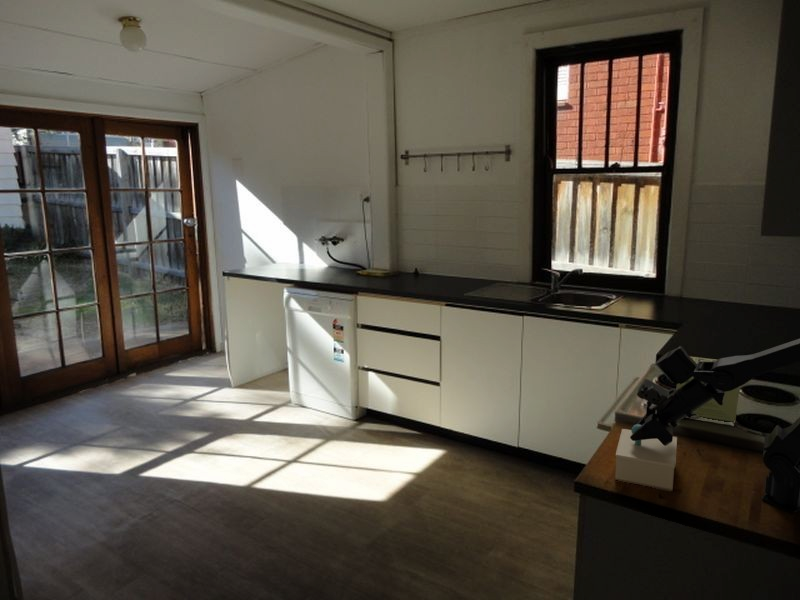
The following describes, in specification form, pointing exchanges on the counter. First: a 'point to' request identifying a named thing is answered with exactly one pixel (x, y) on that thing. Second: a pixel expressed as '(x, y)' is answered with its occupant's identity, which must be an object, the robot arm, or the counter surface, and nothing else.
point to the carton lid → (646, 449)
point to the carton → (645, 473)
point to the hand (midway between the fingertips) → (632, 435)
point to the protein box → (712, 407)
